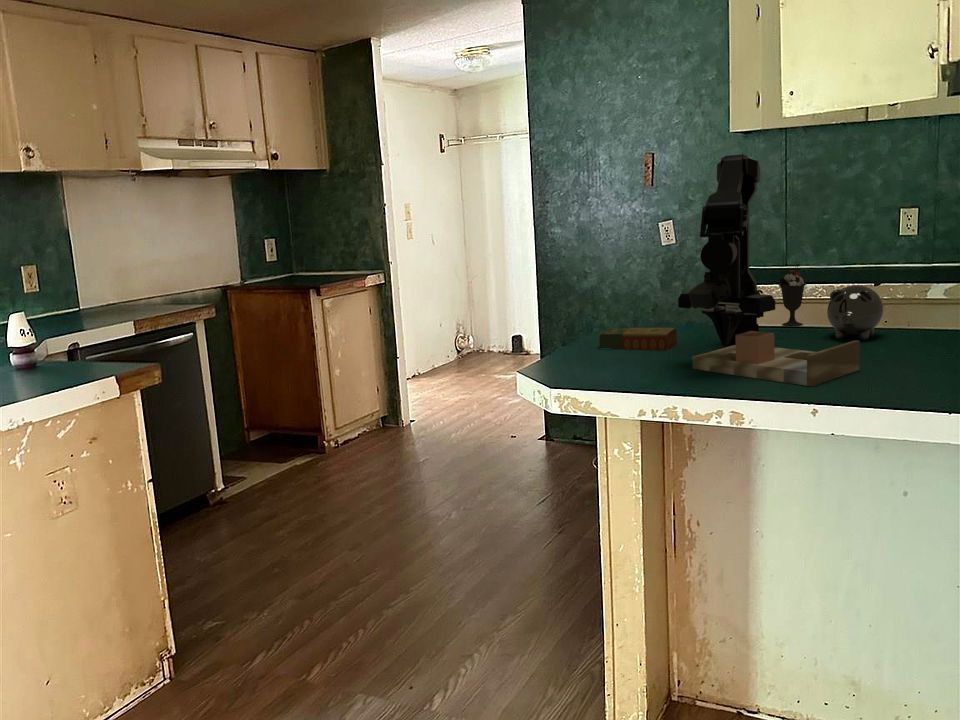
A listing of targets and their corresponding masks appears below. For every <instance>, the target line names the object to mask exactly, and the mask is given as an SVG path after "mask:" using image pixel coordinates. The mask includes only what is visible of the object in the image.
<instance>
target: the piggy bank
mask: <svg viewBox="0 0 960 720" xmlns="http://www.w3.org/2000/svg"><path fill="white" fill-rule="evenodd" d="M829 299H830V300H829V302H828V305H827V309H826V313H827V314H826V315H827V320H828V321H829V324H830V325H831V326H832V327H833V328H834V330H835V338H836V339H839V340H843V339H845V338H846V336H847V335H852V336H853V335H854V336H855V335H858V338H859V340H862V341H867V340H869V338H870V337H873V336H874V333H875V328H876V327H877V326H878V325H879V324H880V322H881V320H882V317H883V315H884V303H883V301H882V298H881V296H880V295H879V294H878V293H877V292H876V291H875V290H874V289H872V288H870V287H868V286H865V285H859V284H855V285H854V284H853V285H849V286H846V287H843V288H841V289H834V290H833V291H831V292H830V295H829Z"/></svg>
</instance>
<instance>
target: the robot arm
mask: <svg viewBox="0 0 960 720" xmlns="http://www.w3.org/2000/svg"><path fill="white" fill-rule="evenodd" d="M760 182H761V167H760V164H759V160H755V159H752V158H749V157H748V155H747V154H741V153H740V154H732V155H729V154H728V155H724V156H723V157H721V158H720V161H719V162H718V163H717V164H716V183H717V188H716V191H715V192H714V193H712V194H711V195H709V196H708V198H707V200H706V202H705V206H702V210H701V211H702V212H701V219H700V231H699V237H700V238H707V240H708V241H707V242H706V243H705V244H704V245H703V247H702V248H701V251H700V261H701V264H703V266H704V267H705V268H706V269H707V270H708V271H705V272H704V275H703V281H702V282H701V283H698V284H697V285H696V286H695V287H693V288H692V289H690V290H689V291H686V292H681V293H680V294H679V296H678V298H677V307H678V308H680V309H691V308H692V309H698V308H699V309H703V310H701V314H703V315H706V316H707V317H708V318H709V319H710V320H711V322H712V324H713V325H714V328H715V330H716V334H717V336H718V339H719V341H720V345H722V346H724V347H726V346H727V347H730V346H733V345H736V335H738V334H741V333H745V332H749V331H756V332H760V331H759V329H760V328H759V323H758V319H760V318H763V317H764V316H765V315H764V314H765V313H767V312H771V311H775V310H776V299H775V298H774V296H773V295H772V294H761V292H760V291H761V290H760V289H759V290H758V283H757V280H756V279H755V277H754V276H753V274H752V272H751V271H750V203H751V201H752V199H753V198H754V196H755V195H756V193H757V191H758V183H759V184H760Z"/></svg>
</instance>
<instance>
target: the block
mask: <svg viewBox="0 0 960 720" xmlns="http://www.w3.org/2000/svg"><path fill="white" fill-rule="evenodd" d="M774 347H775V332H765V331H759V332H756V331H749V332H745V333H741V334H738V335H736V361H740V362H747V363H755V364H761V363H764V362H767V361H771V360H774Z"/></svg>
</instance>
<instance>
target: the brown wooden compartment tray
mask: <svg viewBox="0 0 960 720" xmlns="http://www.w3.org/2000/svg"><path fill="white" fill-rule="evenodd" d="M860 345H861V341H860V340H856V339H855V340H851V341H849V342H846V343H844V342H843V343H841V344H839V345H836V346H835V345H834V346H832V347H829V348H826V349H822V350H820V351H811V350H801V349H795V348H794V349H793V348H785V347H775V346H774V360H771V361H767V362H764V363H761V364H755V363H747V362H740V361H736V345H733V346H730V345H729V346H727V347H726V346H725V347H723V348H718V349H715V350H712V351H708V352H704V353H701V354H700V353H699V354H698V355H692V370H697V369H698V370H697V371H704V372H712V373H718V374H724V375H732V376H738V377H746V378H753V379H758V380H759V379H760V380H767V381H772V382H778V383H779V382H780V383H784V384H785V383H786V384H793V385H798V386H799V385H800V386H807V387H815V386H817V385H820V384H823V382H824V383H827V382H830V381H832V380H835V379H837V378H840V377H844V376H847V375H849V374H852V373H855V372H857V371H860V351H861V350H860V347H861V346H860Z"/></svg>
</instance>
